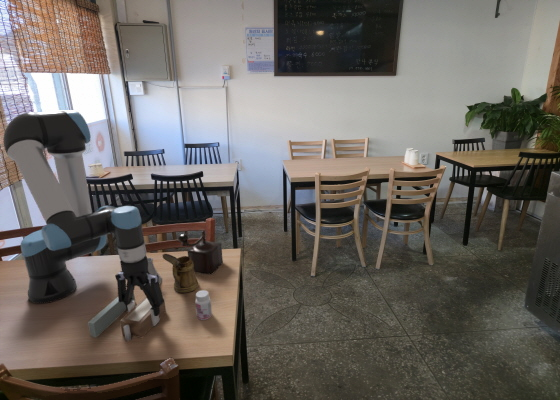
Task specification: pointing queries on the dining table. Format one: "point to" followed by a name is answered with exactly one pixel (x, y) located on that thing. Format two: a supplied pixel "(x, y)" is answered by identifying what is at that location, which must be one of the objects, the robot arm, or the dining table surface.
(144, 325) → the frame
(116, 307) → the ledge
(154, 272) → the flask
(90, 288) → the dining table surface
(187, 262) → the wooden mug
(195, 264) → the dark brown coffee grinder
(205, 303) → the pill bottle
